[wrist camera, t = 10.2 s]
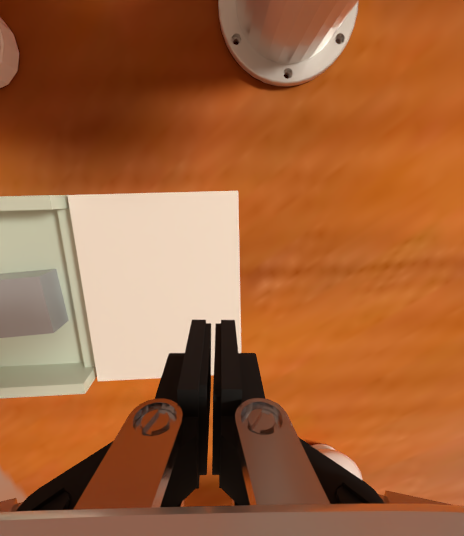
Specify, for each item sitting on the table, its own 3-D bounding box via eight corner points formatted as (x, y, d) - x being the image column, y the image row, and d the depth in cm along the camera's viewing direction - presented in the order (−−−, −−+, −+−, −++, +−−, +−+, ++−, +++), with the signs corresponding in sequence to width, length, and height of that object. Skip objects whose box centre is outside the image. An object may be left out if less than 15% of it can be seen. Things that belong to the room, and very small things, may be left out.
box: (-85, 199, 29) (-146, 200, 24) (77, 195, 29) (49, 195, 25) (-34, 372, 34) (-76, 402, 29) (103, 365, 34) (85, 393, 30)
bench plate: (82, 195, 29) (67, 195, 27) (236, 191, 30) (238, 190, 27) (108, 365, 34) (97, 381, 31) (239, 358, 35) (241, 373, 32)
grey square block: (-2, 273, 30) (-25, 282, 27) (56, 268, 30) (39, 276, 27) (14, 325, 31) (-7, 338, 29) (68, 320, 32) (53, 333, 29)
